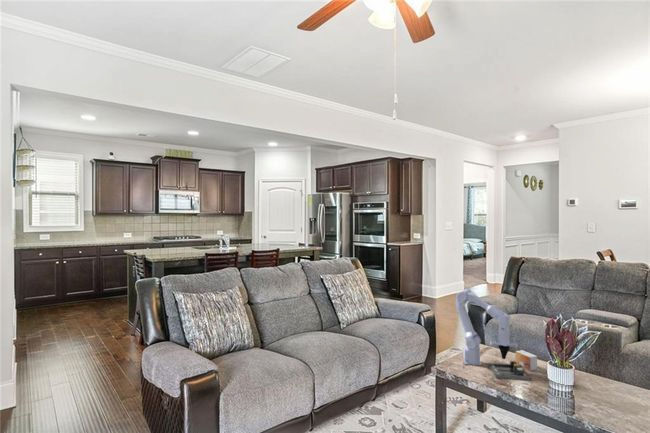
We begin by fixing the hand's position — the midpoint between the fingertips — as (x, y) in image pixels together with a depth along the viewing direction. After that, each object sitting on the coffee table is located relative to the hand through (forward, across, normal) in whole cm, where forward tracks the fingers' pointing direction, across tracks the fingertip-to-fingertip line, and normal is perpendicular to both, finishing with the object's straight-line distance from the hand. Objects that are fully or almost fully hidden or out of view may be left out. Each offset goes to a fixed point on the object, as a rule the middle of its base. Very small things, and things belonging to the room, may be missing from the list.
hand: (503, 358), depth 216 cm
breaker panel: (+7, +2, -4) cm, 8 cm away
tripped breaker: (+5, +6, -4) cm, 9 cm away
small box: (+3, +11, +11) cm, 16 cm away
